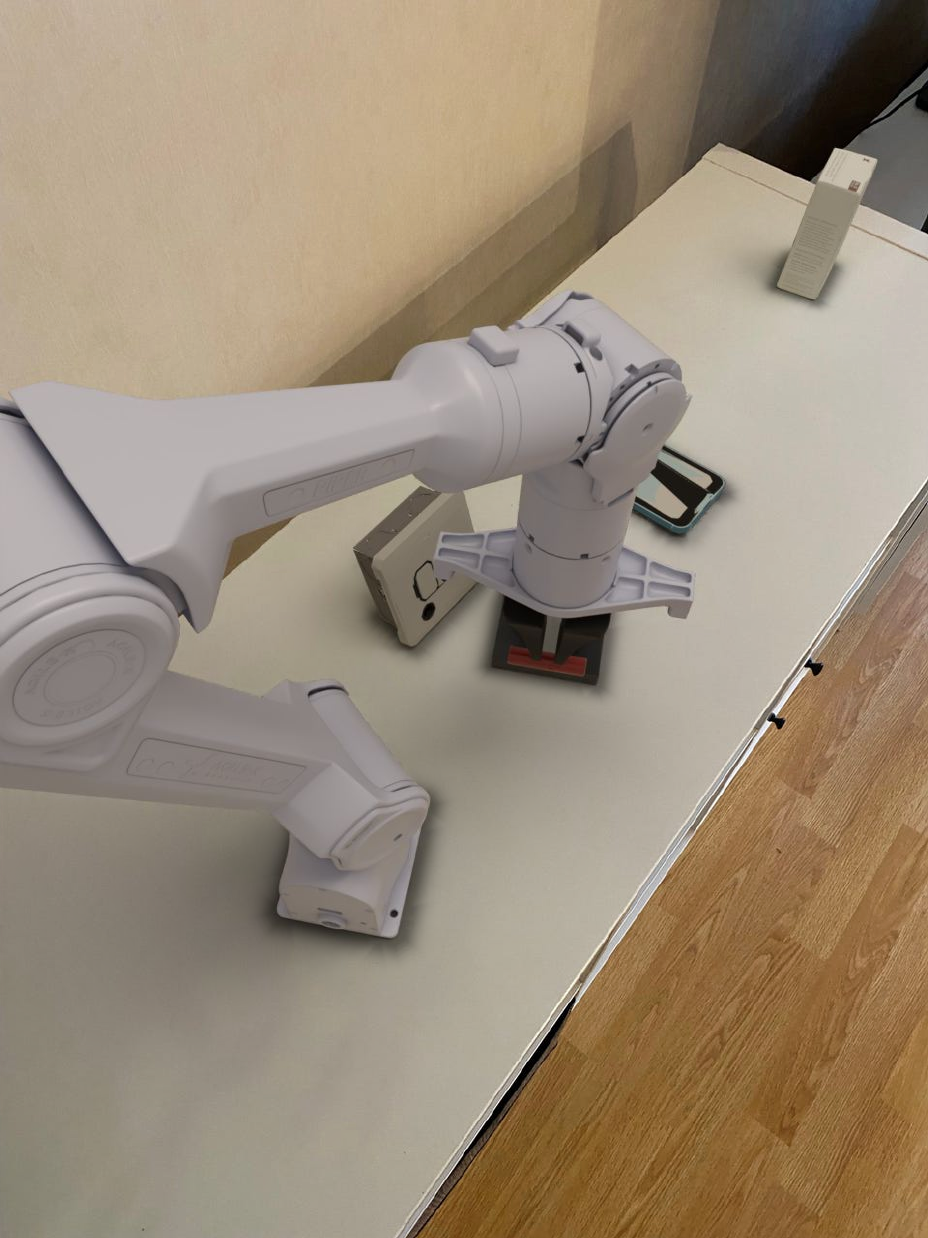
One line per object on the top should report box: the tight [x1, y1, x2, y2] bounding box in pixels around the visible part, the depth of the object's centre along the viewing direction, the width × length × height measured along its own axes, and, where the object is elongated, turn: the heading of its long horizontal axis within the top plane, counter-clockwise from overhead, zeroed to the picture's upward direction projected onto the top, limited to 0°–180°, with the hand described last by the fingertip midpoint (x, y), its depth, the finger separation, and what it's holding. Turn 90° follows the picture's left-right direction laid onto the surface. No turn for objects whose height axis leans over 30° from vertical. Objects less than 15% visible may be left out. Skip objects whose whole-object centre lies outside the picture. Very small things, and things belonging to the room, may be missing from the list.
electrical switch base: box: [490, 594, 605, 686], centre depth 72 cm, size 11×8×7 cm
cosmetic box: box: [776, 147, 878, 300], centre depth 92 cm, size 6×4×12 cm
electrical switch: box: [352, 485, 478, 647], centre depth 72 cm, size 9×5×9 cm, turn 141°
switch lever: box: [508, 615, 587, 676], centre depth 67 cm, size 12×5×2 cm, turn 169°
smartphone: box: [632, 443, 726, 534], centre depth 83 cm, size 7×1×15 cm
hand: (549, 649), depth 61 cm, fingers closed
